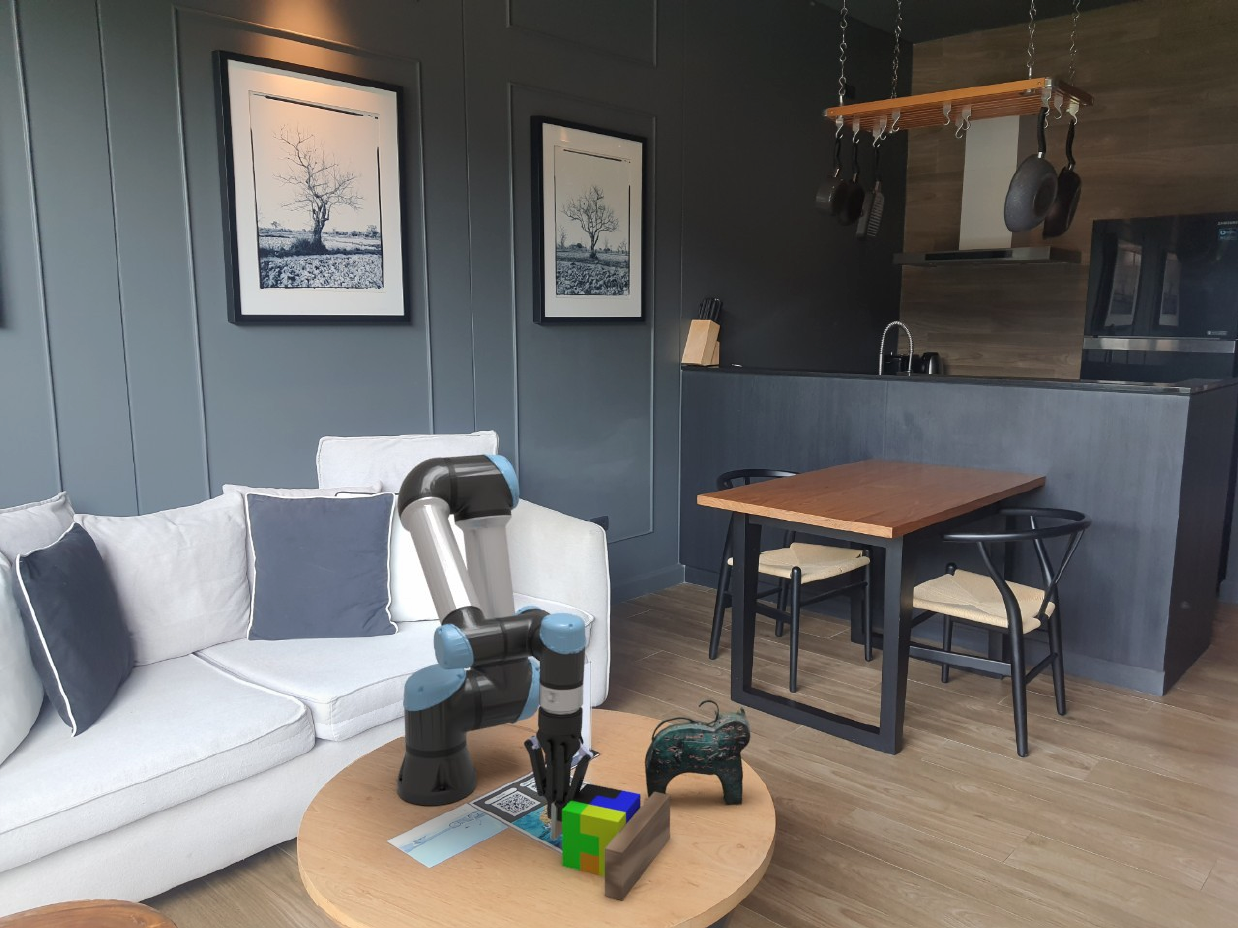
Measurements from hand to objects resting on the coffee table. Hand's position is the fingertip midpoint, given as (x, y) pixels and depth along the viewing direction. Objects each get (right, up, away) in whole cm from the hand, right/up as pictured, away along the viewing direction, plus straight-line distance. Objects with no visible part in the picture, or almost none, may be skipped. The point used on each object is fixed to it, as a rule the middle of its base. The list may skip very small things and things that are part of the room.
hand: (556, 836), depth 159 cm
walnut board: (+14, -2, -6) cm, 16 cm away
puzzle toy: (+8, -2, -3) cm, 9 cm away
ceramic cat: (+26, 0, +15) cm, 30 cm away
